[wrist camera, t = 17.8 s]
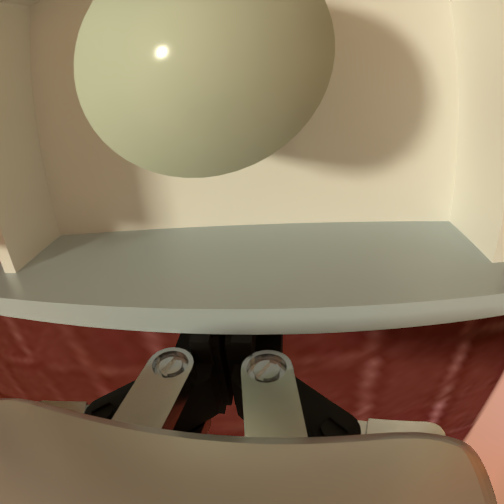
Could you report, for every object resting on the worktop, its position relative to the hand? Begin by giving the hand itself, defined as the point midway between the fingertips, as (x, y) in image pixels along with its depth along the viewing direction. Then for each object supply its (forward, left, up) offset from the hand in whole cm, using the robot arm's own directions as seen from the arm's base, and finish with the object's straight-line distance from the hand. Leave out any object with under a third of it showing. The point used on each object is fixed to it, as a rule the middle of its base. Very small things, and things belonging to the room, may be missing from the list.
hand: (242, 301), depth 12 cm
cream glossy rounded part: (+8, 0, -2) cm, 8 cm away
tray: (+8, 0, -3) cm, 9 cm away
